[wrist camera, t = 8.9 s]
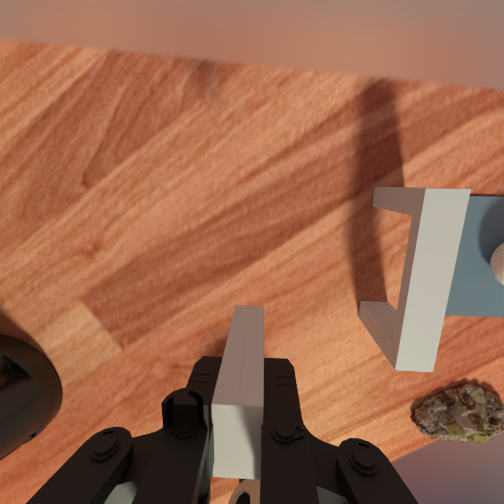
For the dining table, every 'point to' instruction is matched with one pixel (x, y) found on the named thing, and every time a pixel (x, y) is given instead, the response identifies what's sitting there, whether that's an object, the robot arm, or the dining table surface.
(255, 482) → the character mug
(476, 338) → the dining table surface
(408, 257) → the bridge
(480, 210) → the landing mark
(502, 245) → the ball
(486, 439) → the mineral rock
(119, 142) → the dining table surface
